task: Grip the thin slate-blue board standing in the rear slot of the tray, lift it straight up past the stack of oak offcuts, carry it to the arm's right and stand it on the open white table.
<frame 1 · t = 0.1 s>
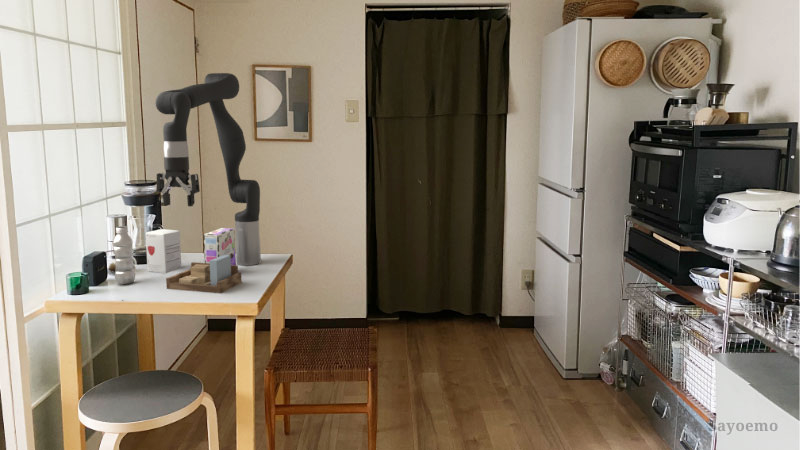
hand: (179, 205, 209), 29 cm above the table, tool pointing down, fingers open, 8 cm apart
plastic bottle: (125, 284, 226), on the table
offcut a: (201, 283, 223), point 1 cm above the table, touching offcut b, tray
supplement box: (164, 270, 245), on the table
offcut c: (189, 286, 218), point 1 cm above the table, touching tray
tray: (205, 288, 220), on the table
offcut b: (200, 274, 222), point 4 cm above the table, touching offcut a
candy box: (221, 274, 239), on the table
board: (221, 286, 218), point 1 cm above the table, touching tray
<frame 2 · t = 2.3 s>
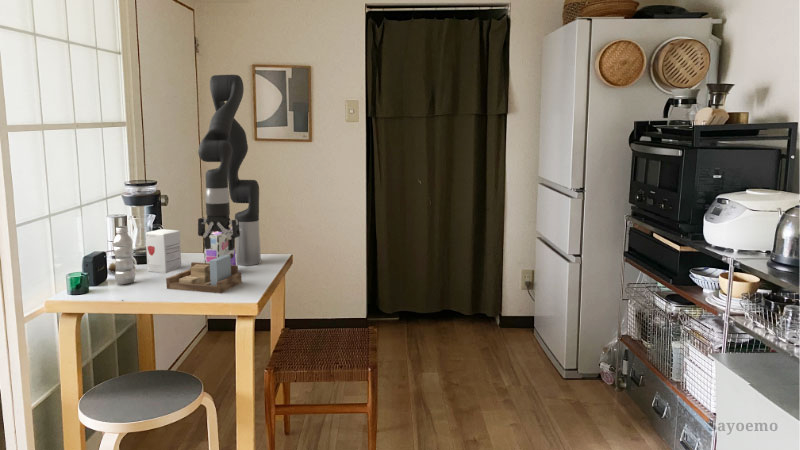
hand: (219, 249, 216), 14 cm above the table, tool pointing down, fingers open, 8 cm apart
nothing on the table moved.
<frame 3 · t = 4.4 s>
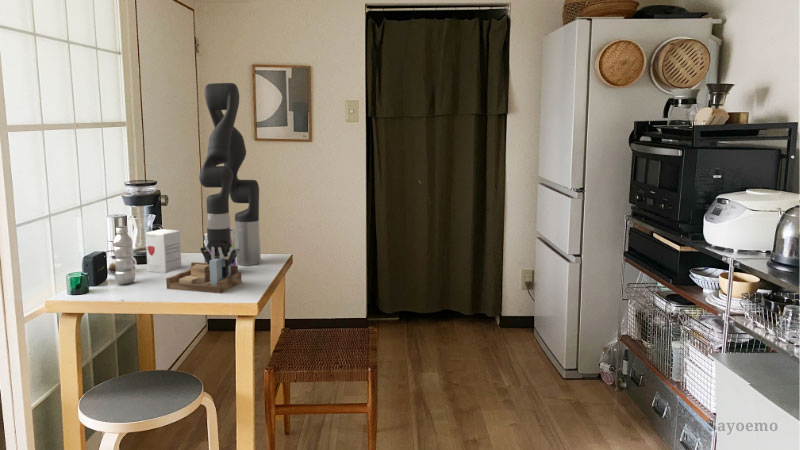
hand: (220, 276, 217), 5 cm above the table, tool pointing down, fingers closed on board, 2 cm apart
board: (221, 286, 218), point 1 cm above the table, touching gripper
everything else where it was.
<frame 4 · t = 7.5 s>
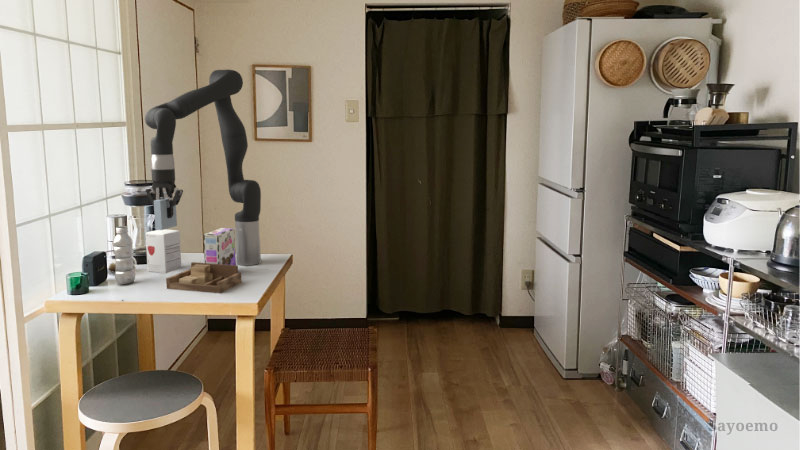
hand: (165, 217, 223), 23 cm above the table, tool pointing down, fingers closed on board, 2 cm apart
board: (166, 227, 224), point 20 cm above the table, touching gripper
everything else where it was.
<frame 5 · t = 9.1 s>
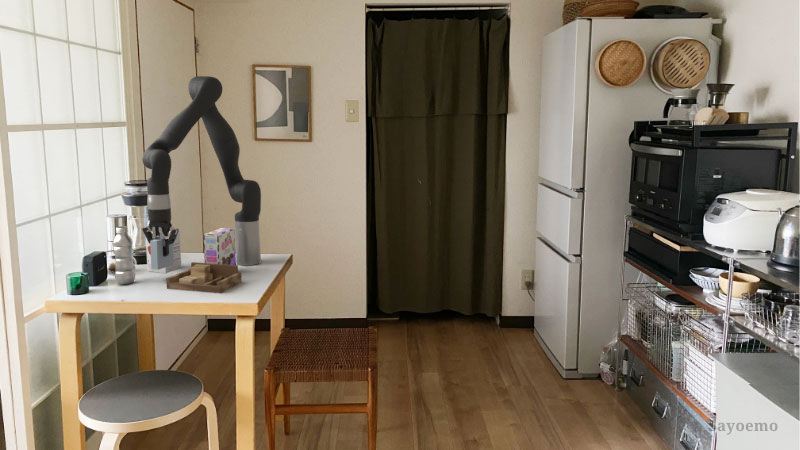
hand: (161, 255, 227), 9 cm above the table, tool pointing down, fingers closed on board, 2 cm apart
board: (162, 267, 227), point 5 cm above the table, touching gripper
everything else where it was.
when the fingers open (5 cm above the table, at t = 10.6 s): board stays where it is, on the table.
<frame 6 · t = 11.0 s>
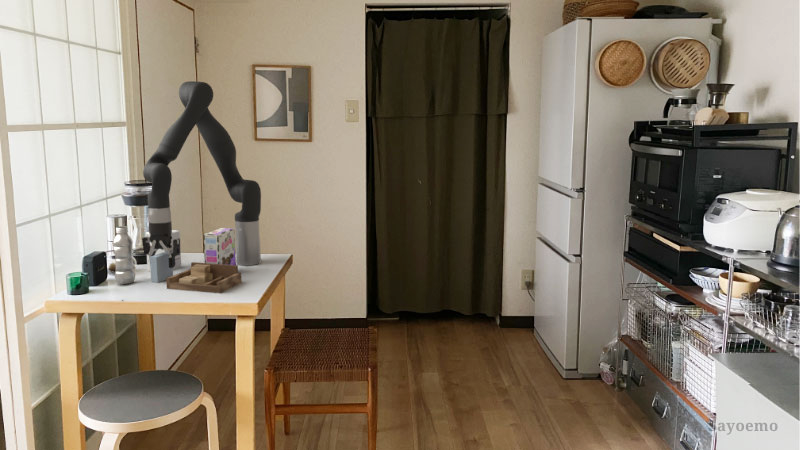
hand: (162, 266, 227), 5 cm above the table, tool pointing down, fingers open, 6 cm apart
board: (162, 282, 228), on the table
everything else where it was.
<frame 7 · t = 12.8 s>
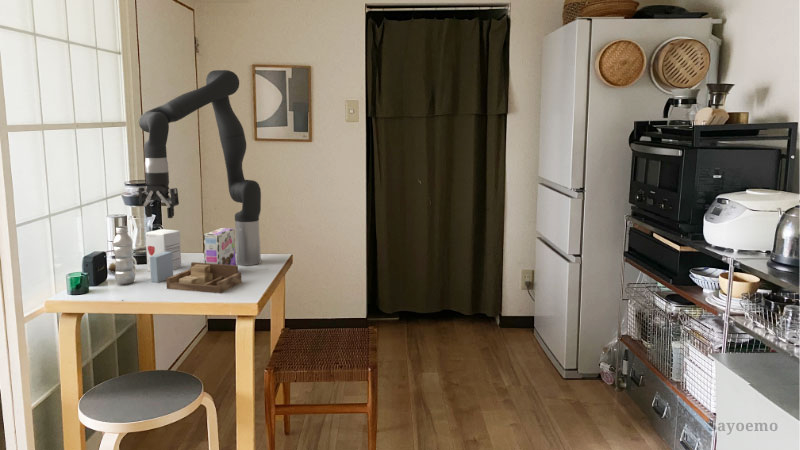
hand: (159, 217, 225), 23 cm above the table, tool pointing down, fingers open, 8 cm apart
nothing on the table moved.
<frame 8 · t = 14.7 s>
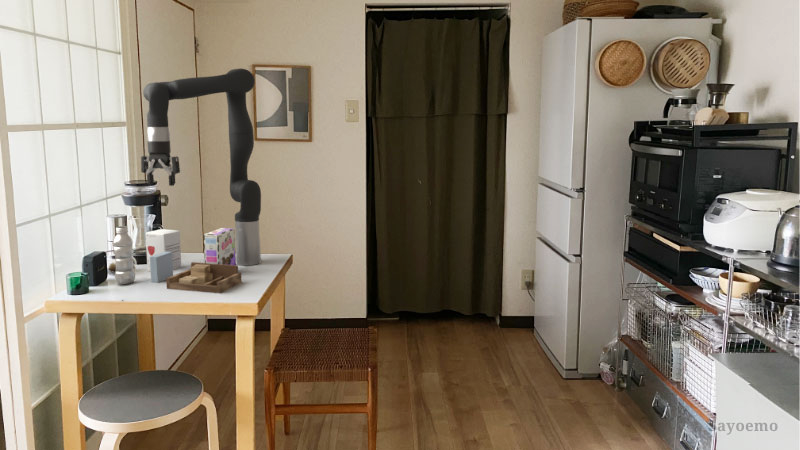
hand: (161, 185, 233), 33 cm above the table, tool pointing down, fingers open, 8 cm apart
nothing on the table moved.
at the end: board inside the target area (0.6 cm from its centre), on the table; board tilted 0°; the gripper is holding nothing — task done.
